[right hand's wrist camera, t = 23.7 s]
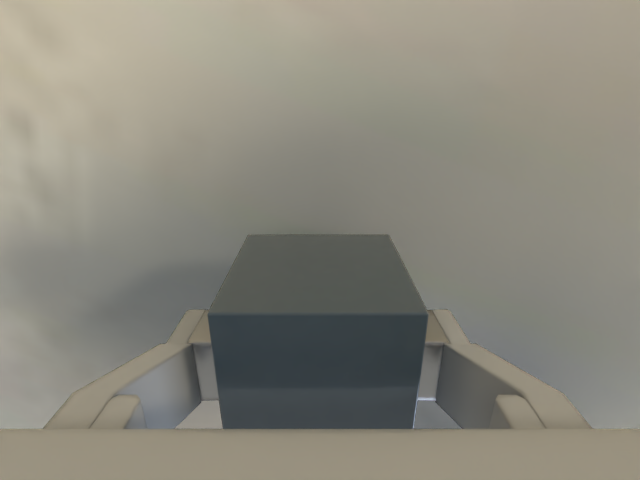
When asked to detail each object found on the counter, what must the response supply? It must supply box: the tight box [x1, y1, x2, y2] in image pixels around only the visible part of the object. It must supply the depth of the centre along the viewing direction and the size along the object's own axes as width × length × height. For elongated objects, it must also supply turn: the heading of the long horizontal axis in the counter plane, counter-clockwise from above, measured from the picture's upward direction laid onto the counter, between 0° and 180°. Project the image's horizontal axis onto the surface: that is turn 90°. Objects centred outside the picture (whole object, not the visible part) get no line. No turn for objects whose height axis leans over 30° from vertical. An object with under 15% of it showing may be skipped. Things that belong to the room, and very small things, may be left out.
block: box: [207, 235, 429, 429], centre depth 10 cm, size 4×5×4 cm
